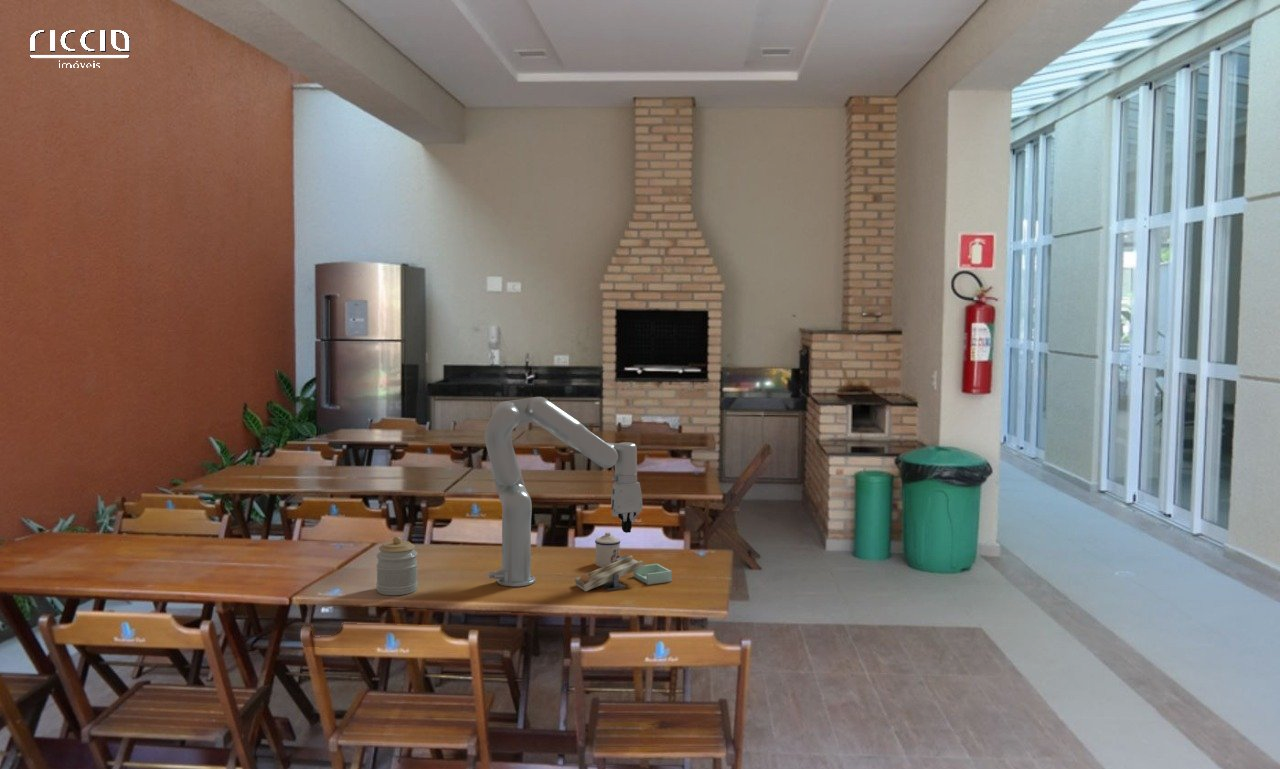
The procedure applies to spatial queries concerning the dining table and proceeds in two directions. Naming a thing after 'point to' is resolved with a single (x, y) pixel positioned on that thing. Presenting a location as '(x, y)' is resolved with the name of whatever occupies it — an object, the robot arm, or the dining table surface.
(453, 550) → the dining table surface
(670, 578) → the tray
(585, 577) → the ball
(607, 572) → the lever
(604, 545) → the teacup with lid
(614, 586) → the fulcrum
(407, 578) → the jar
